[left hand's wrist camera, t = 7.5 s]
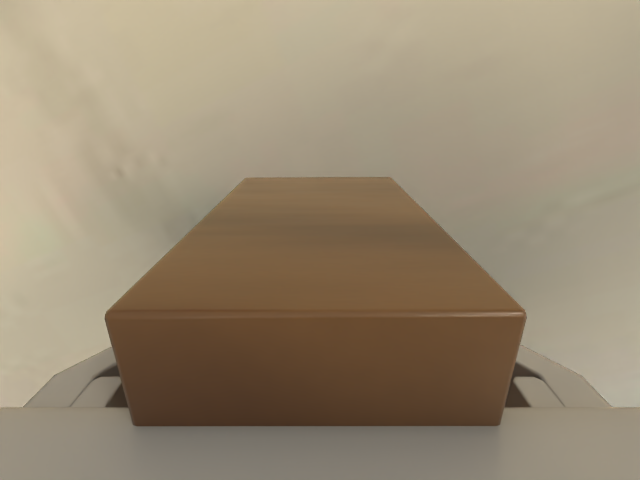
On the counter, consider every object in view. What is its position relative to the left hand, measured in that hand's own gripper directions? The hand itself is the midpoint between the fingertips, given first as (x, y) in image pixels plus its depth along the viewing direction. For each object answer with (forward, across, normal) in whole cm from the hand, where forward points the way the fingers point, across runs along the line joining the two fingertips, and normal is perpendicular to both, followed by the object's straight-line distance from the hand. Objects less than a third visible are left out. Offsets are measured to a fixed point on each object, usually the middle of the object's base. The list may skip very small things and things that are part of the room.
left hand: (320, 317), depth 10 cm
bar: (+3, 0, -10) cm, 11 cm away
